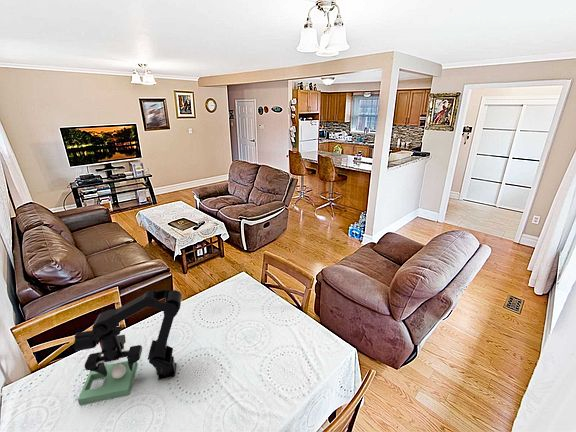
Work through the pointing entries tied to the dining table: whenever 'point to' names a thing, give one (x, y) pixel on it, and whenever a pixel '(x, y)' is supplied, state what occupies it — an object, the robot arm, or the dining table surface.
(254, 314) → the dining table surface
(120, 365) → the ball
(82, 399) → the green shape sorter board
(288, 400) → the dining table surface
